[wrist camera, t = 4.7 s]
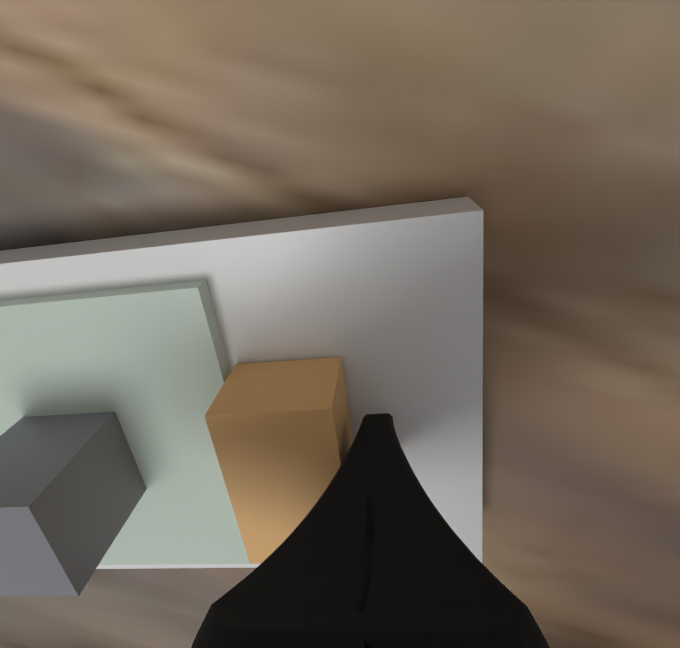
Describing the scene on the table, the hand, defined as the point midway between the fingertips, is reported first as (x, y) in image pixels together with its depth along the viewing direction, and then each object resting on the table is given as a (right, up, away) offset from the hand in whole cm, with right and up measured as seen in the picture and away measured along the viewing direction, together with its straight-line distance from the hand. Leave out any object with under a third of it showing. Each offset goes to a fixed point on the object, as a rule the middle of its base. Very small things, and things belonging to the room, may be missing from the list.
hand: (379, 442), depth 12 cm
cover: (-9, 0, +2) cm, 9 cm away
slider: (-2, 0, +1) cm, 2 cm away
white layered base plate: (-6, +1, +3) cm, 7 cm away
